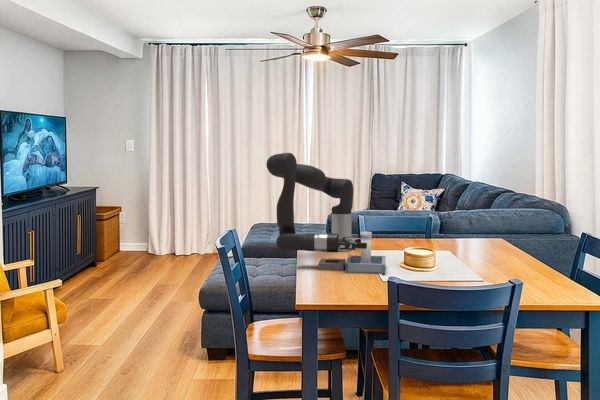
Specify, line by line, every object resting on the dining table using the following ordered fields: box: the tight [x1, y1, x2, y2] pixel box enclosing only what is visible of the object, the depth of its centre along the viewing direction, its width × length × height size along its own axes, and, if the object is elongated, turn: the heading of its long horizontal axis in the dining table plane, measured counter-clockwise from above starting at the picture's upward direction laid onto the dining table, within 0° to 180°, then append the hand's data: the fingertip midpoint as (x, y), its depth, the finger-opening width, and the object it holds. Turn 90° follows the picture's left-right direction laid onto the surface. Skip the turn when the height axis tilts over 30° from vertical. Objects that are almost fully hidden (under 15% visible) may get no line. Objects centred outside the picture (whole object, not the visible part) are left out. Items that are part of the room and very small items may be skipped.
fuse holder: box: [317, 257, 347, 272], centre depth 230 cm, size 10×10×3 cm
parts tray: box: [344, 254, 386, 276], centre depth 228 cm, size 16×15×4 cm
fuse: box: [360, 230, 373, 264], centre depth 227 cm, size 4×4×14 cm
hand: (367, 243), depth 227 cm, fingers open, 8 cm apart
